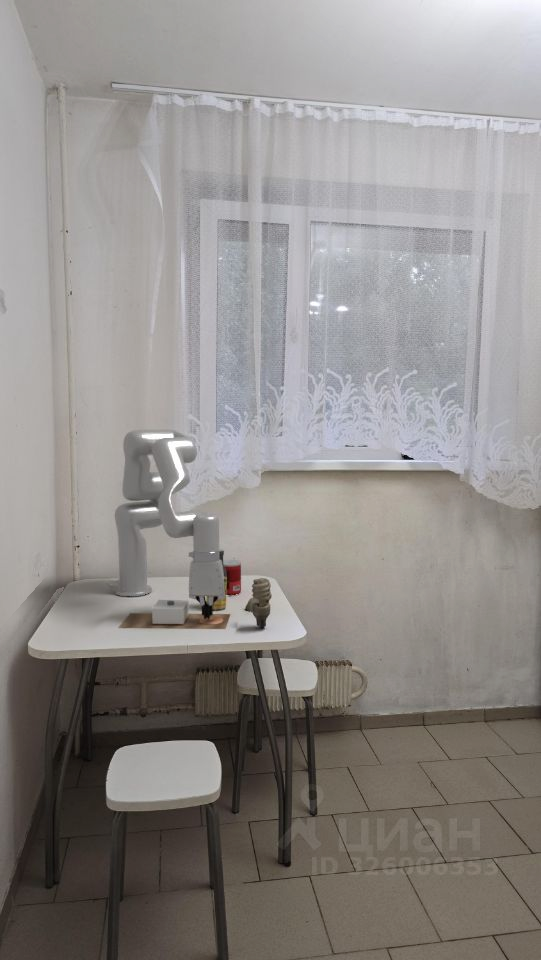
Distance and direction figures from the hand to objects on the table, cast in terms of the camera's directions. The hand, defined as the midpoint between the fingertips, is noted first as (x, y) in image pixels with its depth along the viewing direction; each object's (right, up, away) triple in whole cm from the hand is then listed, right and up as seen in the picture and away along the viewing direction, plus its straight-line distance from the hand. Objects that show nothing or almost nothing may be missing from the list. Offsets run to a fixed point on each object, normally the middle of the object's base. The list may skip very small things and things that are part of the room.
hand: (207, 617), depth 193 cm
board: (-9, -2, +1) cm, 10 cm away
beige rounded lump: (+15, -1, +15) cm, 21 cm away
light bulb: (+16, -3, -3) cm, 17 cm away
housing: (-11, -1, +1) cm, 11 cm away
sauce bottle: (+2, -1, +13) cm, 13 cm away
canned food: (+5, +1, +35) cm, 35 cm away
